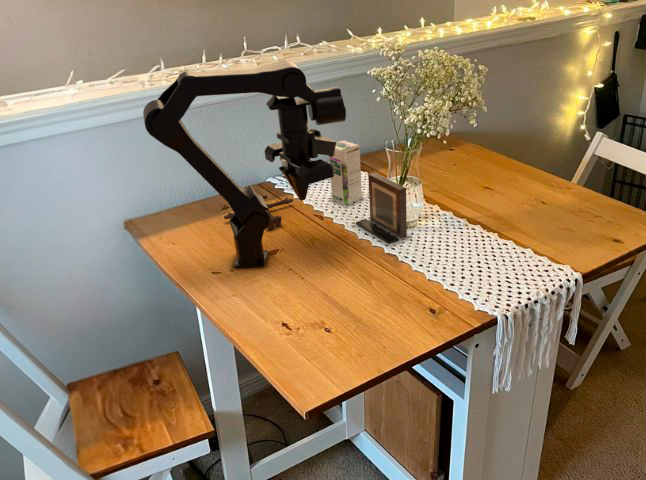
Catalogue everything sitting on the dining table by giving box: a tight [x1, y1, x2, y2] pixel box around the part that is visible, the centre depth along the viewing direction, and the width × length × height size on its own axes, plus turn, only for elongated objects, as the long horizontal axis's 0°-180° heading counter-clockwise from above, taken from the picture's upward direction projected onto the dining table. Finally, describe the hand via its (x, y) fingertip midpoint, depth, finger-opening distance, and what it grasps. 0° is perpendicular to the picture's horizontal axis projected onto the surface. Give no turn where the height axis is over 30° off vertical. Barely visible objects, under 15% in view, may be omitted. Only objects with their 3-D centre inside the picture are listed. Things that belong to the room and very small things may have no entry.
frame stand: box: [355, 218, 400, 245], centre depth 155 cm, size 3×13×1 cm, turn 37°
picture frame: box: [367, 171, 408, 239], centre depth 154 cm, size 2×12×12 cm, turn 37°
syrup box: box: [328, 140, 363, 206], centre depth 168 cm, size 6×6×14 cm
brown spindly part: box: [223, 197, 294, 231], centre depth 163 cm, size 18×4×14 cm
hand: (302, 199), depth 144 cm, fingers closed
